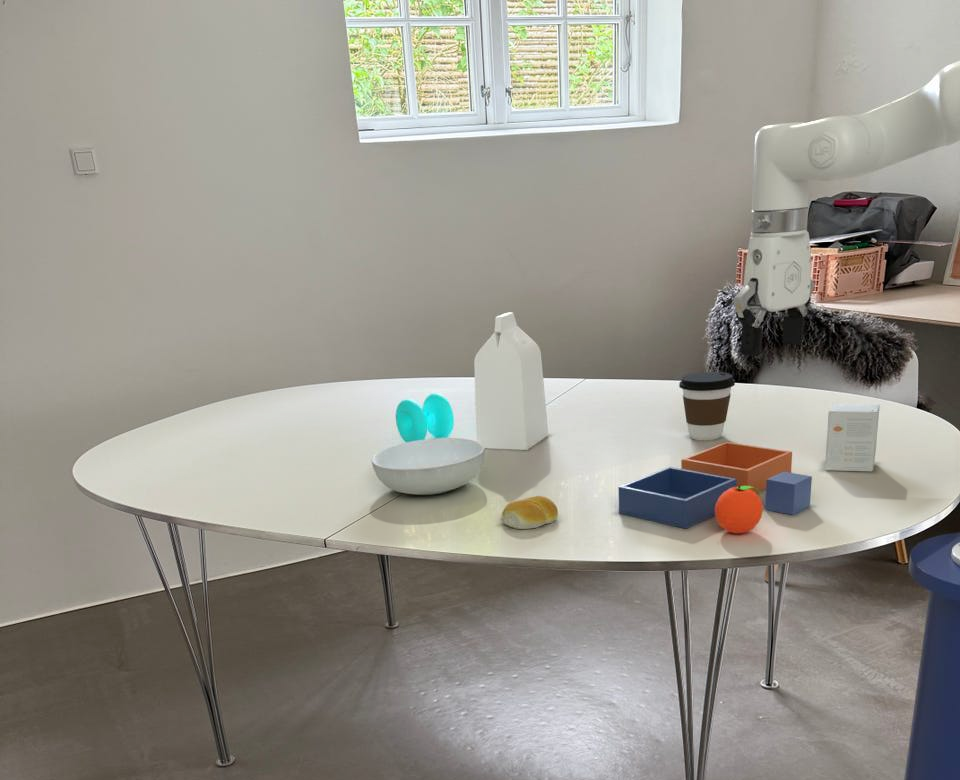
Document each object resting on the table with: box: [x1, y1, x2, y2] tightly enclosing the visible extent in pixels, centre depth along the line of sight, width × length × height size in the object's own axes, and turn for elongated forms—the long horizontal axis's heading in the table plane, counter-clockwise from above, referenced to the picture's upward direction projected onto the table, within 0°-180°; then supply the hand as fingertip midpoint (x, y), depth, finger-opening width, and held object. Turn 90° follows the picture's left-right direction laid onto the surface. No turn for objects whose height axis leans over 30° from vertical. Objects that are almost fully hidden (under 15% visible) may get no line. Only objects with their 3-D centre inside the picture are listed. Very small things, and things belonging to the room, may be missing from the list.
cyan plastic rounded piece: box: [395, 392, 455, 443], centre depth 207 cm, size 10×10×10 cm
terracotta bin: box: [680, 441, 793, 494], centre depth 165 cm, size 13×13×4 cm
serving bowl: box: [371, 437, 486, 496], centre depth 176 cm, size 21×21×7 cm
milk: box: [473, 312, 549, 451], centre depth 197 cm, size 12×12×26 cm
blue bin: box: [618, 466, 737, 529], centre depth 154 cm, size 13×13×4 cm
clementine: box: [714, 486, 764, 534], centre depth 142 cm, size 8×7×7 cm
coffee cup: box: [678, 371, 736, 441], centre depth 191 cm, size 11×11×12 cm
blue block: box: [764, 472, 813, 516], centre depth 150 cm, size 5×5×5 cm
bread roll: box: [501, 495, 559, 530], centre depth 155 cm, size 8×9×4 cm
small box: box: [824, 403, 880, 472], centre depth 165 cm, size 8×6×10 cm
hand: (771, 349), depth 140 cm, fingers open, 9 cm apart
